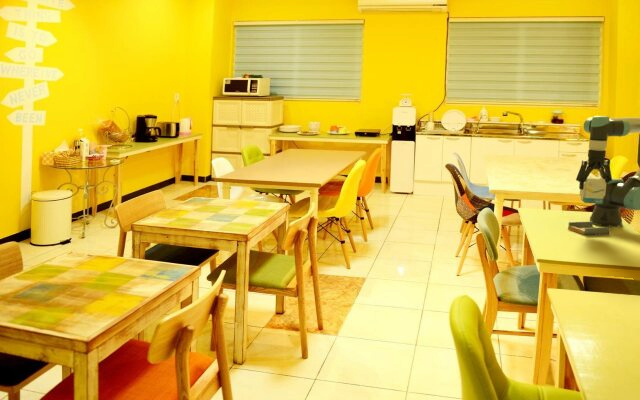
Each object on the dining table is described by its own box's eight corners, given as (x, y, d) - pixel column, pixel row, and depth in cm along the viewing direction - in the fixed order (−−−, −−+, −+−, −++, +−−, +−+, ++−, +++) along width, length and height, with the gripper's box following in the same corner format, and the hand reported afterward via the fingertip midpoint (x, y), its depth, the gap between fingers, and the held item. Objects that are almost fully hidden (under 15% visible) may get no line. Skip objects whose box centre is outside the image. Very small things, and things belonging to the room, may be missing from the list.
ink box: (603, 204, 292) (606, 179, 290) (584, 203, 294) (586, 178, 292) (599, 200, 301) (601, 176, 298) (580, 199, 302) (582, 175, 300)
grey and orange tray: (591, 228, 308) (591, 221, 307) (609, 234, 296) (610, 227, 295) (568, 229, 305) (568, 222, 304) (585, 235, 292) (586, 228, 292)
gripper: (612, 148, 299) (607, 193, 303) (570, 148, 293) (566, 194, 298) (623, 150, 292) (618, 196, 296) (581, 150, 286) (576, 197, 290)
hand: (592, 195), depth 297 cm, fingers closed on ink box, 10 cm apart
